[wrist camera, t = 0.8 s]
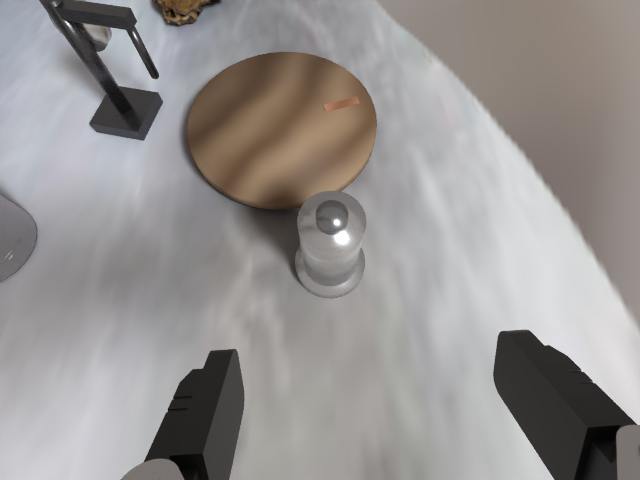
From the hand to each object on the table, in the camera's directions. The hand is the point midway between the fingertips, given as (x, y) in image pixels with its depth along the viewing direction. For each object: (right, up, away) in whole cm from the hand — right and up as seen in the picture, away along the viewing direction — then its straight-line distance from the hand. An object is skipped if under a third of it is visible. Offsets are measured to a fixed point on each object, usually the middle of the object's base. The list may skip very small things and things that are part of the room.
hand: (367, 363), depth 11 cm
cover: (0, +1, +26) cm, 26 cm away
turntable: (-6, +17, +31) cm, 36 cm away
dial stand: (-22, +18, +33) cm, 44 cm away
